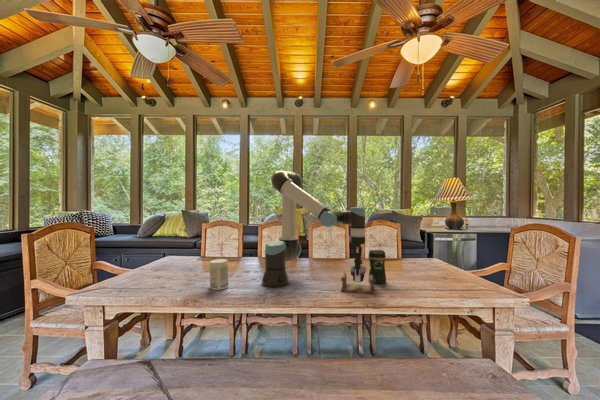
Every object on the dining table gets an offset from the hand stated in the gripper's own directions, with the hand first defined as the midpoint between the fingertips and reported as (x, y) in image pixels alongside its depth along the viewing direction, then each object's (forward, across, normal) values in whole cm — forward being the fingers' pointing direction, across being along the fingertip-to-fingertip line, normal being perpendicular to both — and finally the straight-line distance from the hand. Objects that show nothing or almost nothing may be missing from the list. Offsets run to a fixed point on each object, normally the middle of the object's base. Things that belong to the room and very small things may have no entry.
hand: (358, 278), depth 147 cm
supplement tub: (+6, -16, +73) cm, 75 cm away
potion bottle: (+1, 0, 0) cm, 1 cm away
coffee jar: (+6, +16, -10) cm, 20 cm away
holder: (+6, 0, 0) cm, 6 cm away
